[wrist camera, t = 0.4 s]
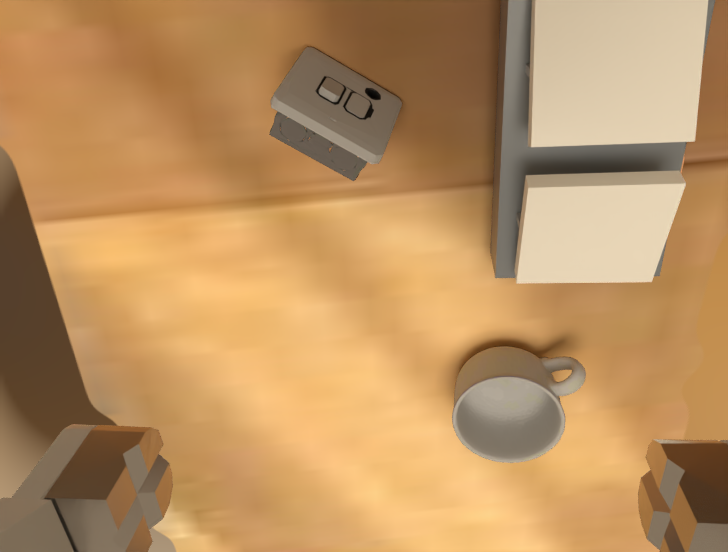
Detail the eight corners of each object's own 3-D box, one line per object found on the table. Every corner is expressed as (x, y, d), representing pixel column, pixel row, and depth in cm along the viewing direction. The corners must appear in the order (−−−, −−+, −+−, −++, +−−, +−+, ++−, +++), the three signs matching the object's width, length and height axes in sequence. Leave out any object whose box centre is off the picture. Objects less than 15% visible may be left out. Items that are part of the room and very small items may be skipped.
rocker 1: (531, -1, 42) (535, -6, 40) (699, -12, 40) (709, -17, 39) (527, 146, 44) (531, 147, 43) (685, 140, 43) (694, 141, 41)
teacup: (476, 421, 69) (481, 476, 62) (432, 353, 65) (433, 404, 58) (595, 380, 64) (615, 433, 57) (556, 304, 60) (573, 352, 53)
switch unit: (501, -25, 46) (512, -18, 40) (700, -38, 45) (742, -34, 39) (490, 252, 58) (497, 288, 52) (647, 249, 56) (672, 286, 50)
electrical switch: (404, 99, 52) (394, 140, 44) (376, 148, 55) (361, 194, 47) (308, 42, 50) (279, 74, 43) (284, 95, 53) (253, 134, 45)
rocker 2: (525, 175, 45) (528, 187, 44) (679, 170, 44) (685, 183, 43) (514, 270, 52) (516, 283, 51) (646, 268, 51) (651, 282, 50)
